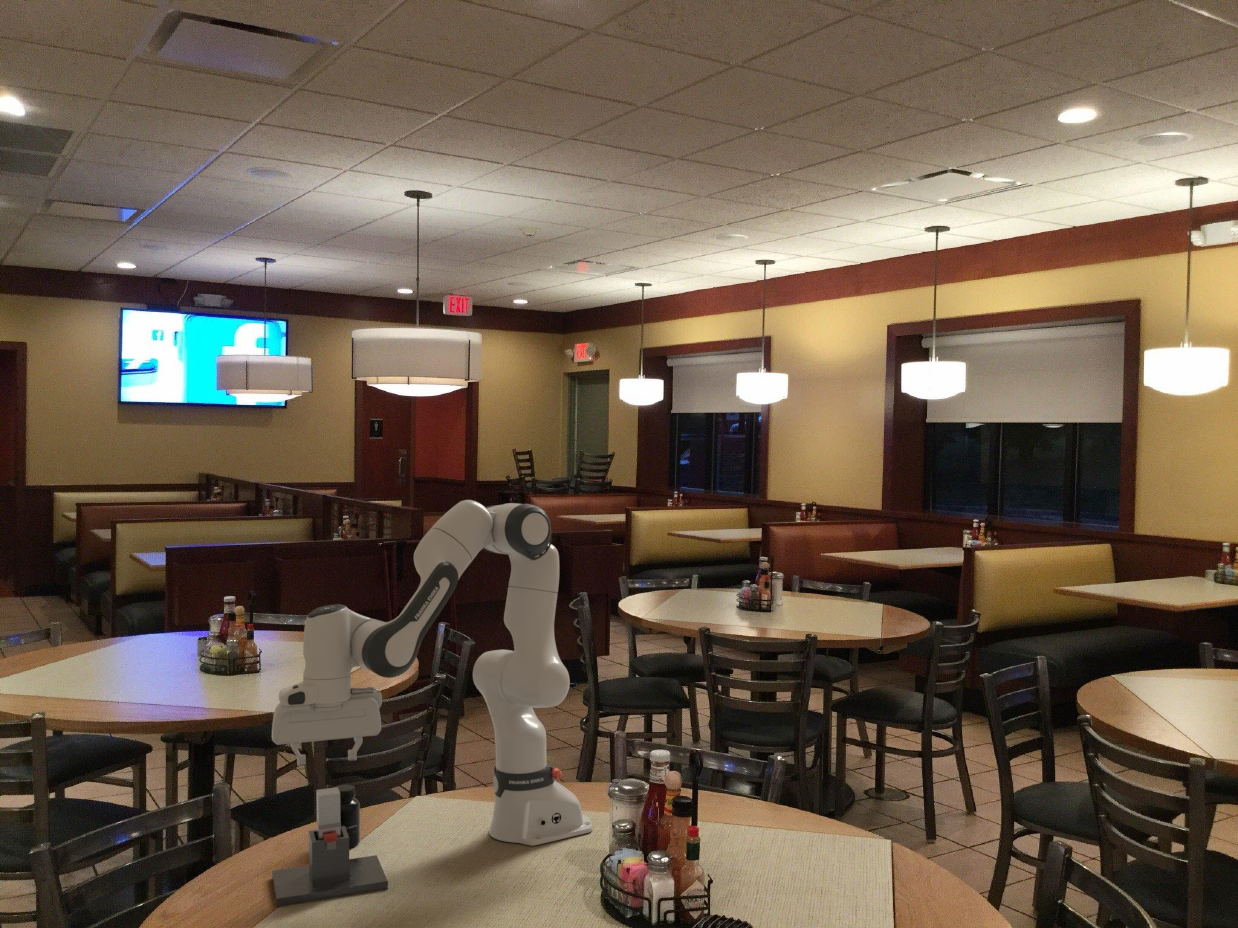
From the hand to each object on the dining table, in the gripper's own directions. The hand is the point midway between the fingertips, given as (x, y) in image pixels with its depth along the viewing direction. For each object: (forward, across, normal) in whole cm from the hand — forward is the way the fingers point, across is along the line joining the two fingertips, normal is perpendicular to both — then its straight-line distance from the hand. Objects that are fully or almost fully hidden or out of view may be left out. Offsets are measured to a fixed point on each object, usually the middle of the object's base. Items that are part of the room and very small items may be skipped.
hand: (327, 762), depth 196 cm
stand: (+23, 0, 0) cm, 23 cm away
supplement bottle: (+23, -5, -20) cm, 31 cm away
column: (+22, 0, 0) cm, 22 cm away
